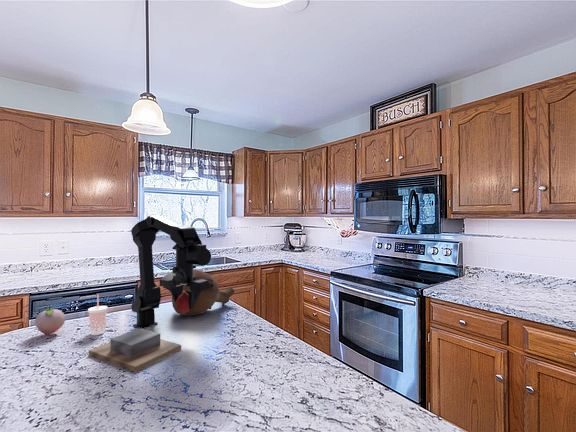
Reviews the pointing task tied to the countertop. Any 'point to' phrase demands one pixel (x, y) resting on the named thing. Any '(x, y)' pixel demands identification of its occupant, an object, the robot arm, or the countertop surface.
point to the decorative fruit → (50, 321)
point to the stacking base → (136, 359)
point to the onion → (183, 303)
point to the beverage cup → (97, 318)
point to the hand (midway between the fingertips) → (184, 307)
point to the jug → (206, 295)
